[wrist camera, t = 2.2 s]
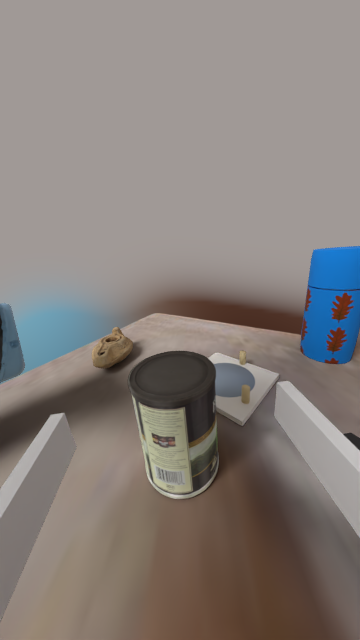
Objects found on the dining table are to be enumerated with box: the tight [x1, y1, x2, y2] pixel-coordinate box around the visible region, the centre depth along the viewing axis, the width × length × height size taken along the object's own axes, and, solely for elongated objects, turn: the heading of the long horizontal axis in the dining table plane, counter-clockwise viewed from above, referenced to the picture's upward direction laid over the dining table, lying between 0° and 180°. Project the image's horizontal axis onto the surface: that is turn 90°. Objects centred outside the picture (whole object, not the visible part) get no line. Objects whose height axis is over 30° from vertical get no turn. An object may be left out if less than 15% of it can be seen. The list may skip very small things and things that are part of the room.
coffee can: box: [128, 351, 219, 499], centre depth 25 cm, size 10×10×14 cm
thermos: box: [300, 246, 360, 364], centre depth 45 cm, size 11×11×25 cm
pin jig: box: [208, 351, 279, 426], centre depth 41 cm, size 16×16×4 cm
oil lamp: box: [92, 327, 133, 368], centre depth 53 cm, size 11×15×8 cm
